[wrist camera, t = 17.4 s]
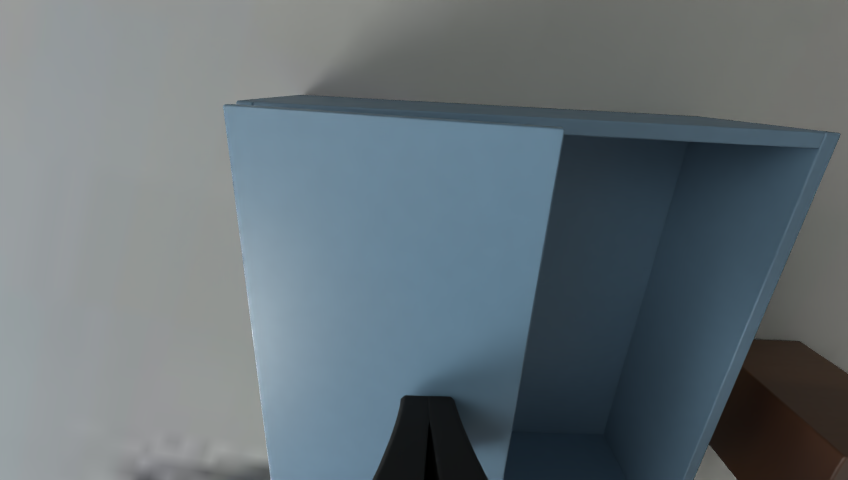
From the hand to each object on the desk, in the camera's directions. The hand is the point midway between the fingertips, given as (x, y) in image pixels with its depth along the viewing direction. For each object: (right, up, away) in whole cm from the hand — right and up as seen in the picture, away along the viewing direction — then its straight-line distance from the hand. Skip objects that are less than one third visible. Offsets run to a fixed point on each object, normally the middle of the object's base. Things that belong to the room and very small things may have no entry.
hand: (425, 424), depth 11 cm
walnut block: (+15, -2, +9) cm, 18 cm away
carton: (+2, +3, +7) cm, 8 cm away
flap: (-1, 0, +1) cm, 2 cm away
